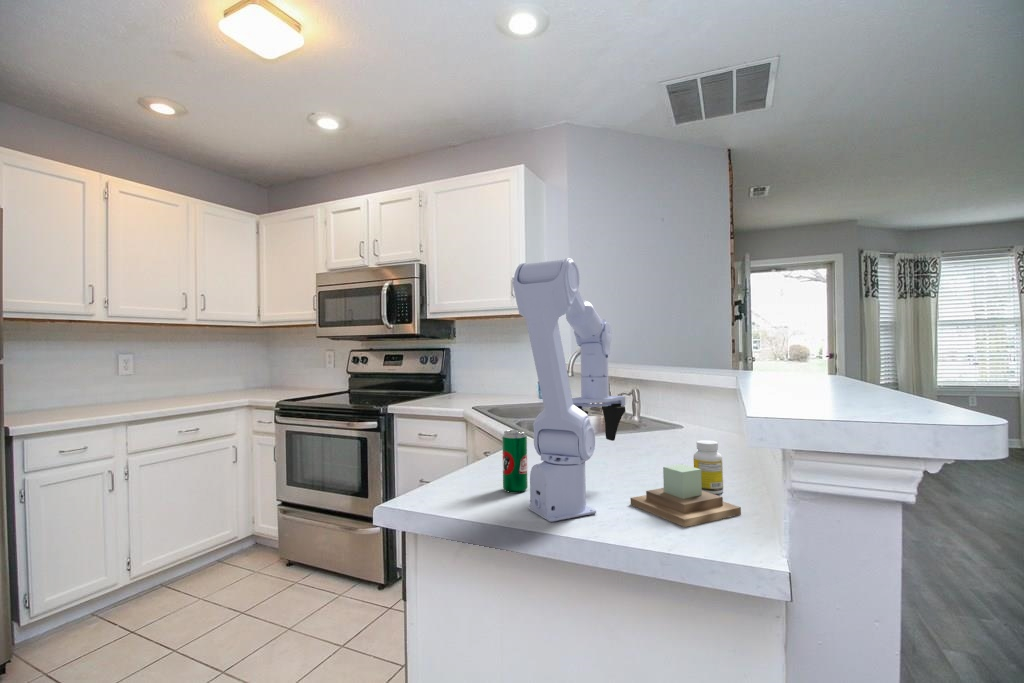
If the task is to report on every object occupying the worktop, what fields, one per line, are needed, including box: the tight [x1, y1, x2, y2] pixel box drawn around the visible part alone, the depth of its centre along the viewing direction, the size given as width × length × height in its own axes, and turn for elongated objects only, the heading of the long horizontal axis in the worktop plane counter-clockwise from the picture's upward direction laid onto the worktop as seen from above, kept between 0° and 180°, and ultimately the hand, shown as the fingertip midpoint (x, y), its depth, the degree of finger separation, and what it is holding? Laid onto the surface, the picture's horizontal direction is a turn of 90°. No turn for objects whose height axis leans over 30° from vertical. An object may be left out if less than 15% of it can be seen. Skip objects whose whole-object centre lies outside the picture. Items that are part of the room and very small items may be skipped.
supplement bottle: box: [693, 439, 724, 495], centre depth 95 cm, size 5×5×10 cm
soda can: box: [501, 429, 529, 493], centre depth 97 cm, size 5×5×12 cm
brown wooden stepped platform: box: [629, 487, 742, 528], centre depth 83 cm, size 13×13×3 cm
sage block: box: [662, 463, 702, 499], centre depth 84 cm, size 4×4×4 cm
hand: (595, 441), depth 99 cm, fingers open, 7 cm apart
